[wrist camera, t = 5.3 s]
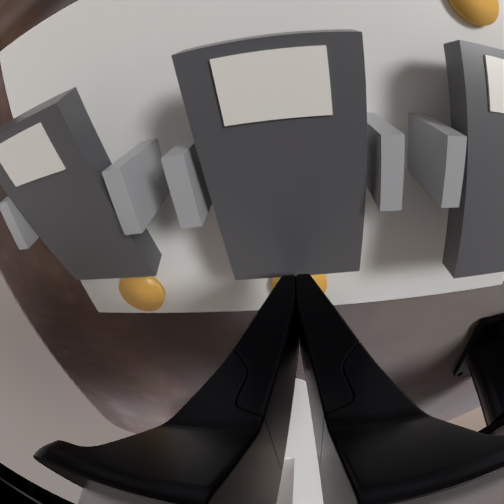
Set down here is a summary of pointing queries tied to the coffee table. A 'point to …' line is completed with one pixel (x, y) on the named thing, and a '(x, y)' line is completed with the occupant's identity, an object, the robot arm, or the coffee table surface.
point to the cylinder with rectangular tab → (300, 455)
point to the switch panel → (187, 160)
